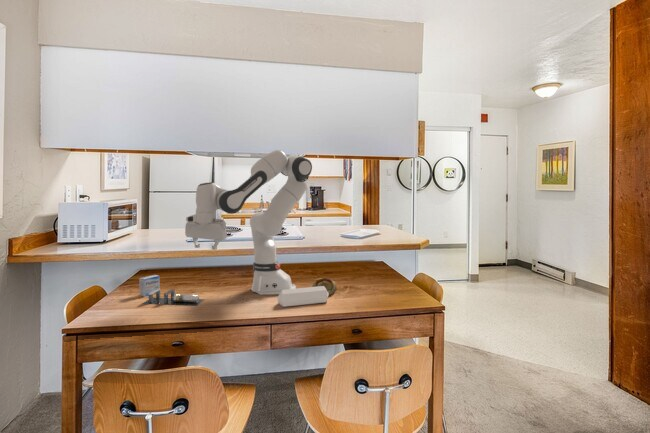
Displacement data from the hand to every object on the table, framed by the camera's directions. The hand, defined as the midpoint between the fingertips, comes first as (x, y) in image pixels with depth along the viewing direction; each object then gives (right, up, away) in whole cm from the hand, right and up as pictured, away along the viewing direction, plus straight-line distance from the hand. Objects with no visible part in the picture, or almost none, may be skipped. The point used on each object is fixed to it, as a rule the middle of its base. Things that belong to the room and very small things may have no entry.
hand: (205, 248), depth 163 cm
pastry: (+54, -24, +16) cm, 61 cm away
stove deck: (-14, -24, -2) cm, 28 cm away
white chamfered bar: (+45, -25, 0) cm, 51 cm away
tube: (-8, -24, -2) cm, 25 cm away
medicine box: (-30, -23, +9) cm, 39 cm away
